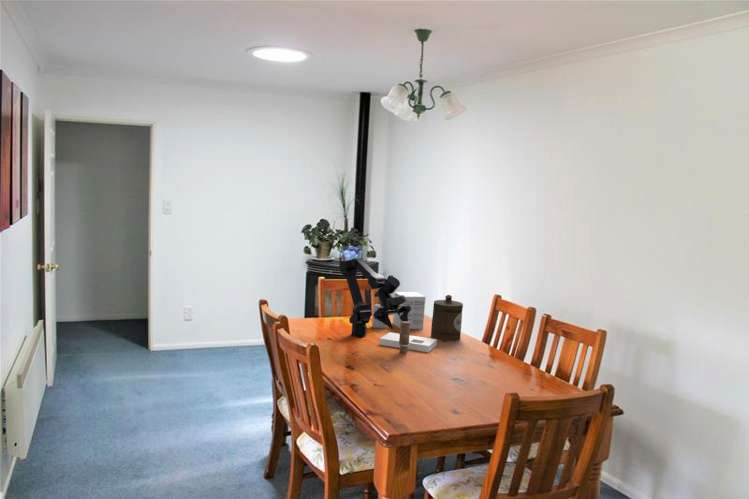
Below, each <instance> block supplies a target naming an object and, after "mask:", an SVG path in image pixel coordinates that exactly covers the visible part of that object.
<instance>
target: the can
mask: <svg viewBox="0 0 749 499" xmlns="http://www.w3.org/2000/svg"><path fill="white" fill-rule="evenodd" d="M381 304H382V303H380V304H379V303H378V304H377V303H376V304H374V307H373V308H372V324H371V325H372V328H374V329H379V330H383V329H385V328H386V327H387V325H385V324H384V323H382V322H381V321H378V319H375V318H374V313H375V312H376V310H377V309H378V308H383V307H381Z"/></svg>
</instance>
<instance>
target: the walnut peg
mask: <svg viewBox="0 0 749 499" xmlns="http://www.w3.org/2000/svg"><path fill="white" fill-rule="evenodd" d="M410 332H411V329H410V322H407V321H401V323H400V328H399V334H400V338H399V345H400V348H399V353H400V354H404V355H405V354H408V349H407V347H408V346H409V335H411V334H410Z"/></svg>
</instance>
